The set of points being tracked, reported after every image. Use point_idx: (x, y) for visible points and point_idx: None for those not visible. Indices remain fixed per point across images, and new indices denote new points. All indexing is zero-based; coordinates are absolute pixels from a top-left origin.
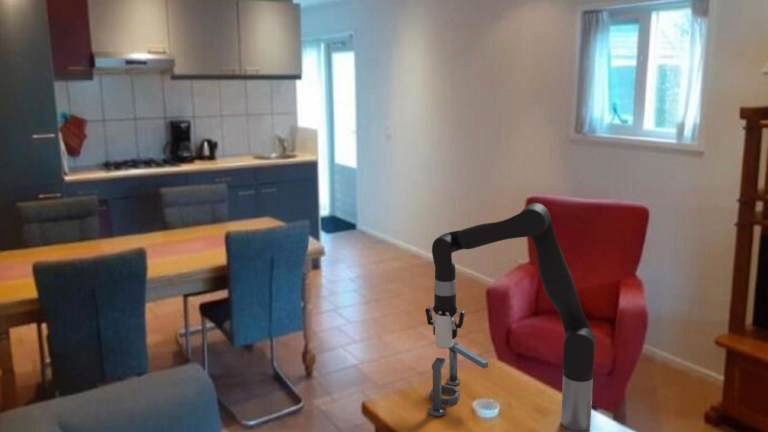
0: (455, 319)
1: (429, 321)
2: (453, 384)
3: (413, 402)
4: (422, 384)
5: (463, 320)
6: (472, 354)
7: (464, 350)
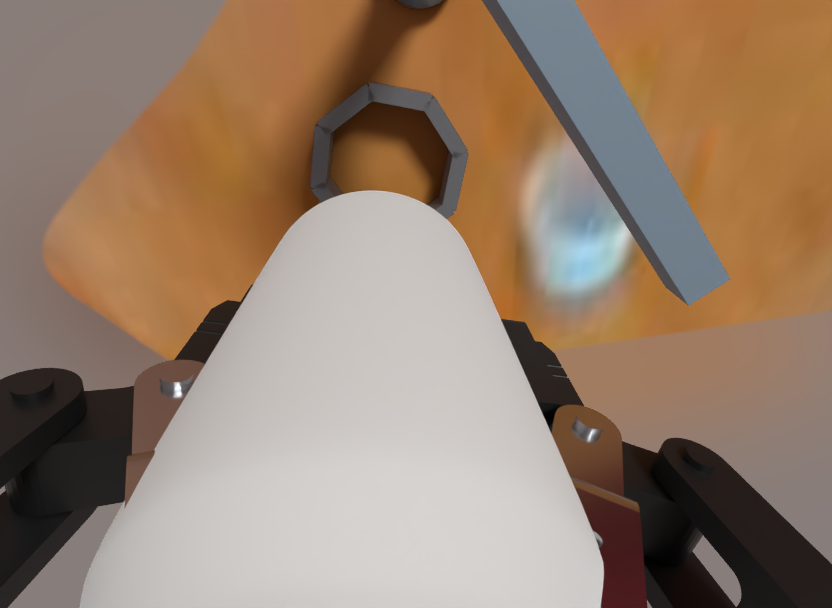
0: (631, 513)
1: (34, 541)
2: (424, 7)
3: (244, 225)
4: (234, 8)
5: (808, 543)
6: (631, 153)
7: (566, 66)
